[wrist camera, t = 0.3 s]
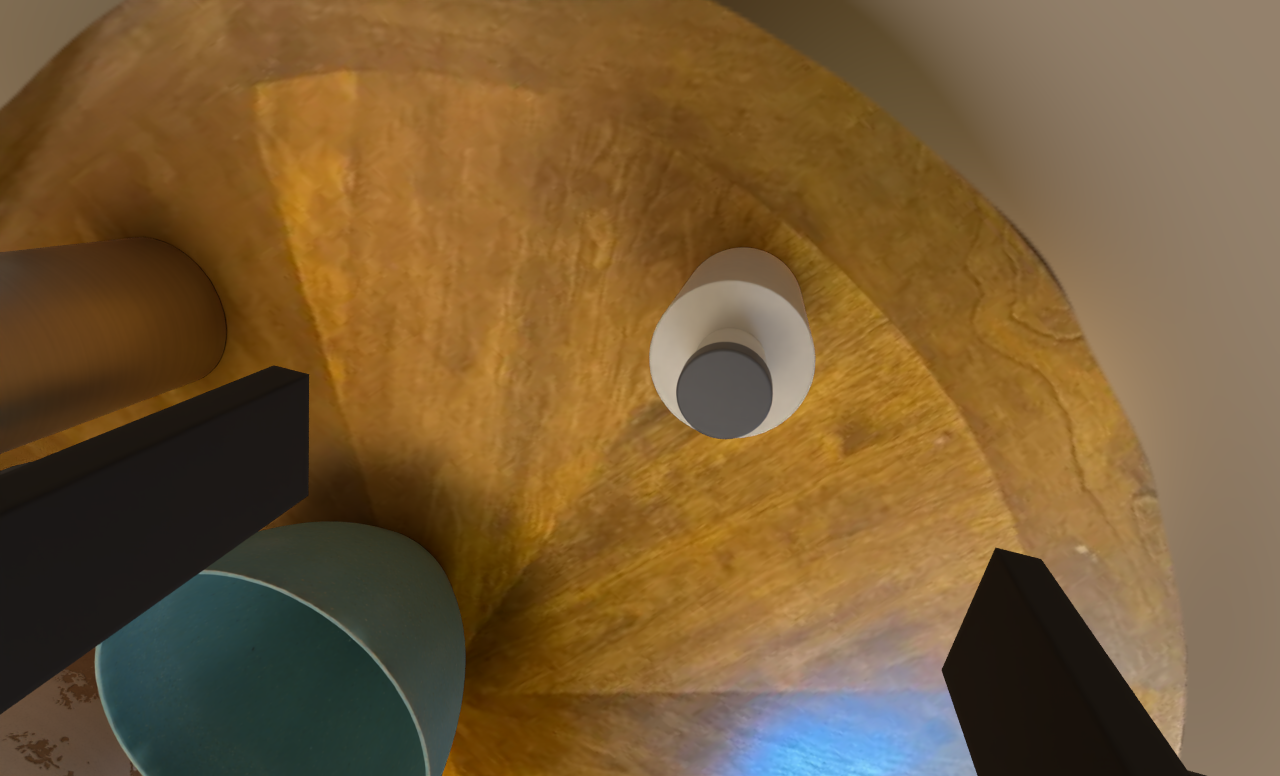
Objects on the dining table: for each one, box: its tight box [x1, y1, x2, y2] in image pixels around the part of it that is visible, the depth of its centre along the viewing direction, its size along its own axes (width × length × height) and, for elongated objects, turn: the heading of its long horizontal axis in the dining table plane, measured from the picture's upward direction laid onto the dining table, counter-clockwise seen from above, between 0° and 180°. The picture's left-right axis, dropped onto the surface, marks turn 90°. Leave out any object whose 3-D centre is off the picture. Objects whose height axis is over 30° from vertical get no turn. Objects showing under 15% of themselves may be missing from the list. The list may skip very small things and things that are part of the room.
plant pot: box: [95, 521, 465, 776], centre depth 37 cm, size 18×18×12 cm
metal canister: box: [0, 237, 226, 454], centre depth 32 cm, size 9×9×16 cm
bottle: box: [649, 247, 815, 439], centre depth 27 cm, size 6×6×14 cm
